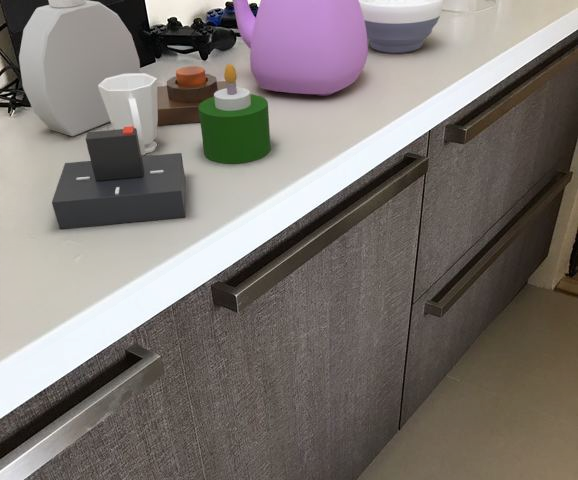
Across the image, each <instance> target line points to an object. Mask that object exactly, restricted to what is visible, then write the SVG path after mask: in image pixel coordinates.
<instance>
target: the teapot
mask: <svg viewBox="0 0 578 480" xmlns="http://www.w3.org/2000/svg"><path fill="white" fill-rule="evenodd" d="M231 1H232V4H233V9H234V15H235V20H236V25H237V29H238V32H239V35H240V37H241V39H242V41H243V43H244V44H245V45H246V46H247V47H248V49H250V50H249V51H250V52H249V53H250V54H249V55H250V56H249V64H250V71H251V74H252V76H253V78H254V80H255V81H256V83H257V84H258V86H259V87H260V88H261V89H263V90H267V91H272V92H276V93H289V94H302V95H316V96H319V97H327V96H331V95H333V94H334V93H336V92H339V91H341V90H343V89H346V88H347V87H349V86H350V85H352V84H353V83H355V82H356V81H357V80H358V78H359V76H360V75H361V73H362V72H363V69H364V68H365V65H366V63H367V60H368V56H369V55H368V54H369V53H368V52H369V50H368V49H369V48H368V47H369V45H368V39H367V33H366V26H365V21H364V17H363V13H362V9H361V6H360V3H359V0H260V2H259V5H258V8H257V12H256V16H255V15H254V13H253V12H252V10H251V7H250V4H249V1H248V0H231Z"/></svg>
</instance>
